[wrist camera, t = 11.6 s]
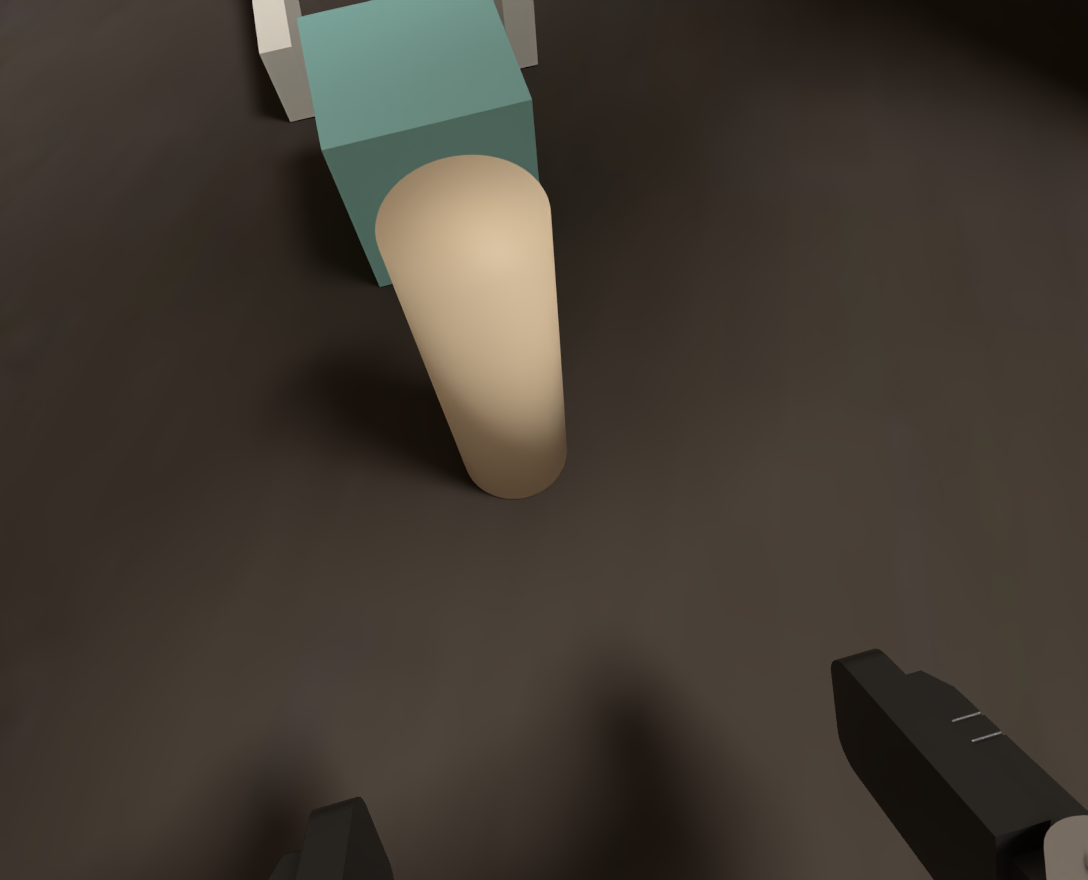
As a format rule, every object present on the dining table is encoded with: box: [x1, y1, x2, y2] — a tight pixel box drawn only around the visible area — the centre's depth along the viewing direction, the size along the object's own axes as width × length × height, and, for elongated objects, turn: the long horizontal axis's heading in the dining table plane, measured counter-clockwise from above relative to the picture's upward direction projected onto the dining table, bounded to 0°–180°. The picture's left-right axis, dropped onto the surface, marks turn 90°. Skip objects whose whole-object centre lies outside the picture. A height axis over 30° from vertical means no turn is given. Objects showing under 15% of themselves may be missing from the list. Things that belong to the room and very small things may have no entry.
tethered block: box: [297, 0, 567, 499], centre depth 20 cm, size 6×15×10 cm, turn 15°
